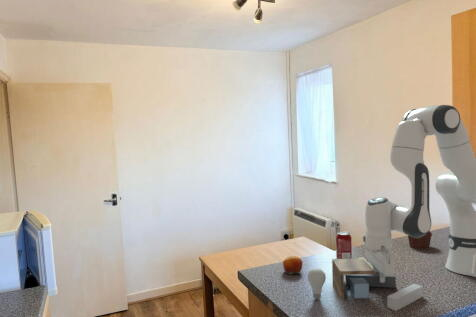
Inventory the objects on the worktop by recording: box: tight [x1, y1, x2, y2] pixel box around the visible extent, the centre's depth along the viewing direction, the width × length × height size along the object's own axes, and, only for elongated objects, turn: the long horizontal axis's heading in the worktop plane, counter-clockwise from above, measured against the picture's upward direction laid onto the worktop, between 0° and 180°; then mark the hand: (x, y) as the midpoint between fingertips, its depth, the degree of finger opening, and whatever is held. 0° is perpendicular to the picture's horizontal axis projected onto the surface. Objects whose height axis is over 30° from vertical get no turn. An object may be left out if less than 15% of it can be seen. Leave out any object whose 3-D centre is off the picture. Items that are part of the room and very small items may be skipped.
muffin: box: [407, 230, 433, 250], centre depth 177 cm, size 12×11×10 cm
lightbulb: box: [307, 267, 327, 301], centre depth 124 cm, size 6×6×11 cm
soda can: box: [335, 230, 353, 259], centre depth 163 cm, size 7×7×12 cm
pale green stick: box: [357, 257, 373, 268], centre depth 154 cm, size 14×2×2 cm, turn 179°
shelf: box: [331, 258, 375, 301], centre depth 128 cm, size 12×12×10 cm
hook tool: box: [344, 273, 397, 298], centre depth 129 cm, size 19×13×4 cm
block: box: [349, 278, 370, 299], centre depth 126 cm, size 5×5×5 cm
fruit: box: [282, 255, 303, 276], centre depth 149 cm, size 8×8×8 cm
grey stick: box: [386, 283, 424, 312], centre depth 120 cm, size 16×3×4 cm, turn 124°
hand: (379, 278), depth 133 cm, fingers open, 4 cm apart
